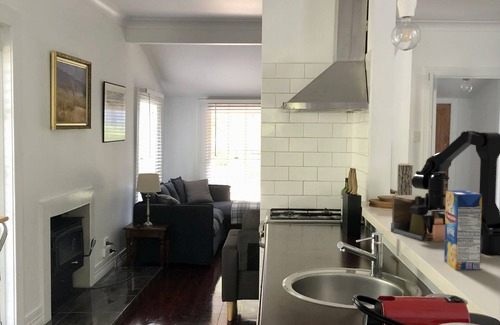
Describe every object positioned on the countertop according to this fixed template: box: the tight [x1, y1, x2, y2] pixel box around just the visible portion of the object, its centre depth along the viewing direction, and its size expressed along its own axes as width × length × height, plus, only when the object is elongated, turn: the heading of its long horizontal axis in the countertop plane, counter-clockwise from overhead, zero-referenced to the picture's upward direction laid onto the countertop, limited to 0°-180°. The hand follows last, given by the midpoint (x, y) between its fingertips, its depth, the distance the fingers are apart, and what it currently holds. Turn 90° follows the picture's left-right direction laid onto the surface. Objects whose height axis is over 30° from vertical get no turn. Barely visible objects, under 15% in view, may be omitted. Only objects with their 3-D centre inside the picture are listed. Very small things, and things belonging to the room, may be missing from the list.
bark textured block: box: [396, 162, 414, 196], centre depth 257 cm, size 7×7×25 cm
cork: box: [409, 205, 426, 235], centre depth 214 cm, size 6×6×11 cm
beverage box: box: [443, 189, 482, 271], centre depth 160 cm, size 7×11×22 cm, turn 177°
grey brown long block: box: [390, 216, 445, 243], centre depth 208 cm, size 23×9×8 cm, turn 21°
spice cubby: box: [391, 194, 439, 233], centre depth 215 cm, size 14×12×14 cm
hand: (435, 232), depth 201 cm, fingers closed on grey brown long block, 4 cm apart
